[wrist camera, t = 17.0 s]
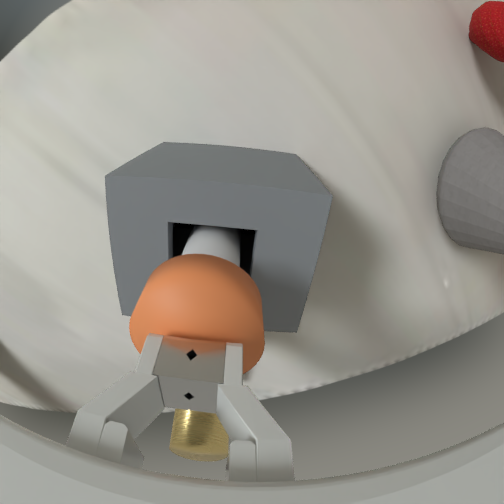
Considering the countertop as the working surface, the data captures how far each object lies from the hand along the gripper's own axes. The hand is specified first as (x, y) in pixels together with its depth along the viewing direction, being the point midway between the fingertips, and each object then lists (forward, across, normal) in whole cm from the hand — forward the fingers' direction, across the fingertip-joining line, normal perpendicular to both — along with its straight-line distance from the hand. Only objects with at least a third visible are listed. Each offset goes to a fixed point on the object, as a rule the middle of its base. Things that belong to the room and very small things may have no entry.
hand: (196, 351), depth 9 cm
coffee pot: (+16, -27, -7) cm, 32 cm away
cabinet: (+15, 0, 0) cm, 15 cm away
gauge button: (+11, 0, 0) cm, 11 cm away
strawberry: (+16, -20, -20) cm, 32 cm away
